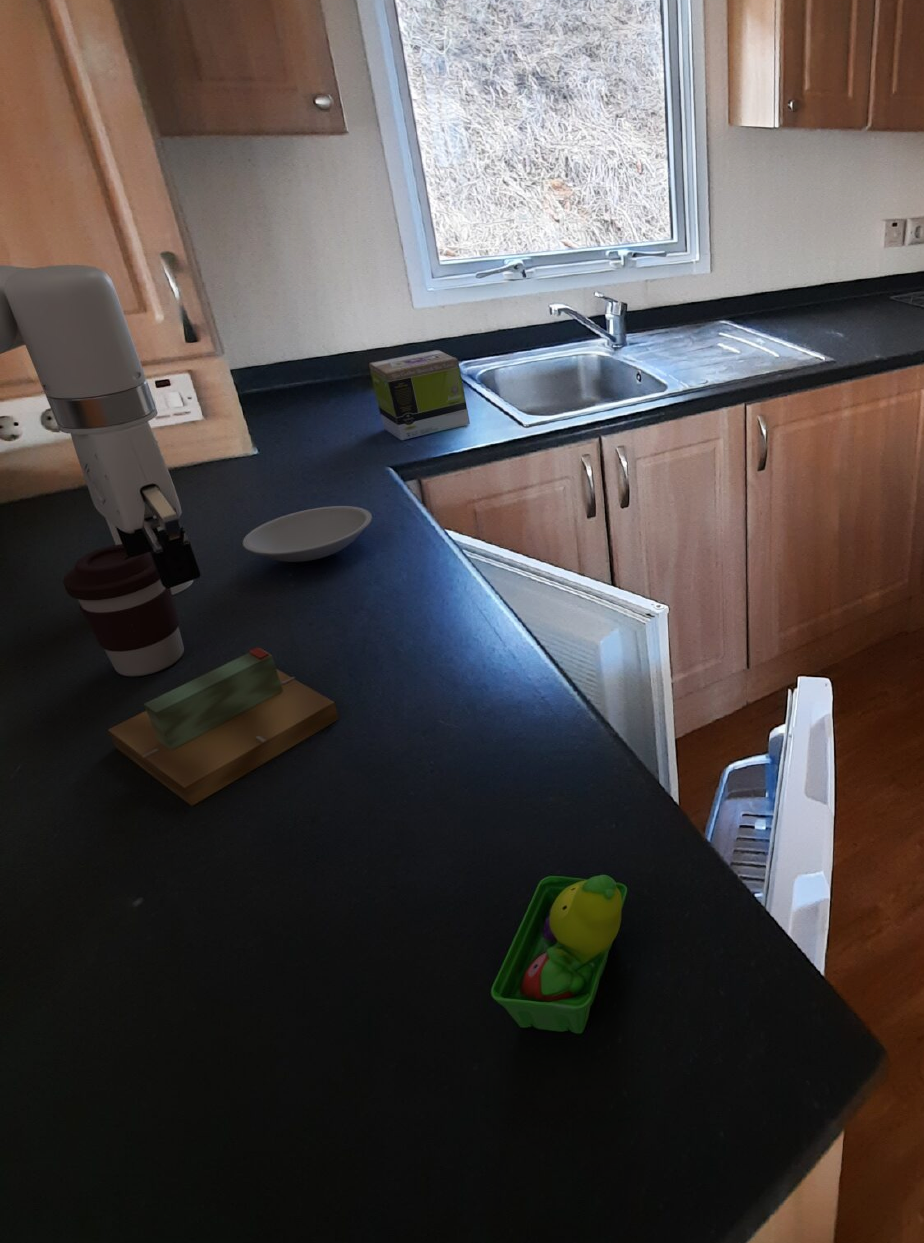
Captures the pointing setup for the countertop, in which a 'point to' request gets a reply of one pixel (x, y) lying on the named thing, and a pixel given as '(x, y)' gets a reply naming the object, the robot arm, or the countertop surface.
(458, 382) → the tea box
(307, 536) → the dish
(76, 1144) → the countertop surface
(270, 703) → the base
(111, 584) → the coffee cup
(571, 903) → the fruit basket
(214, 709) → the green rectangular block
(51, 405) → the robot arm
